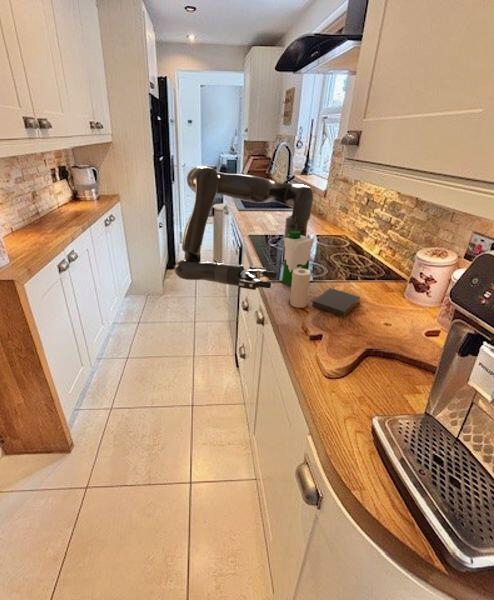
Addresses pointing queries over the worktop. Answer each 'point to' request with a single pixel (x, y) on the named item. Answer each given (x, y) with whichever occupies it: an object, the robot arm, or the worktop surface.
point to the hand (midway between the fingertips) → (273, 279)
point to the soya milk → (295, 254)
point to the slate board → (336, 302)
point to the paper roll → (300, 287)
